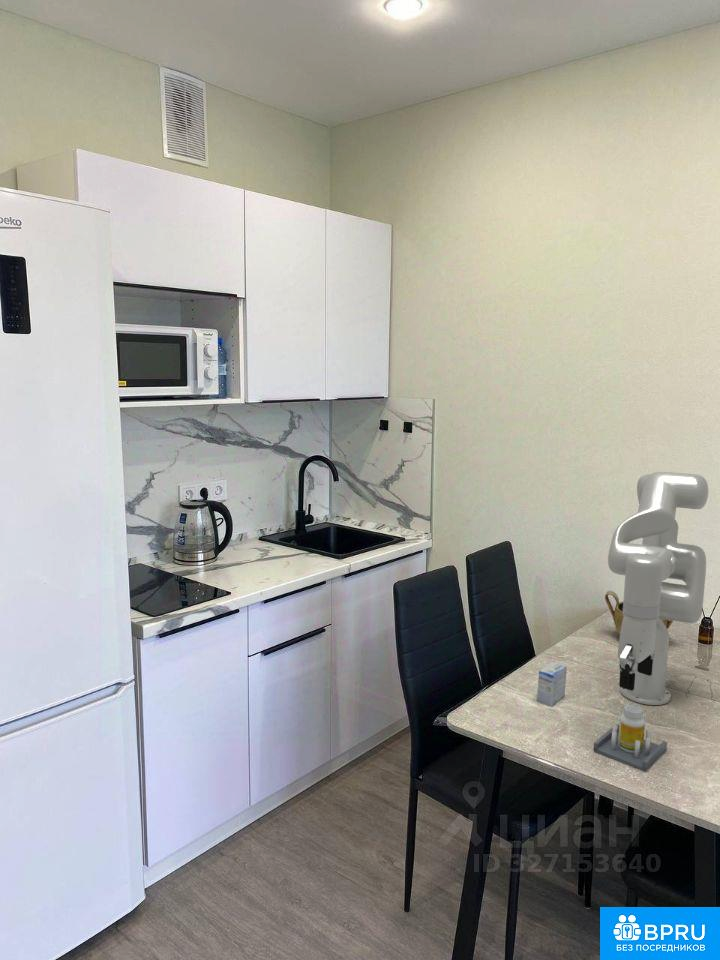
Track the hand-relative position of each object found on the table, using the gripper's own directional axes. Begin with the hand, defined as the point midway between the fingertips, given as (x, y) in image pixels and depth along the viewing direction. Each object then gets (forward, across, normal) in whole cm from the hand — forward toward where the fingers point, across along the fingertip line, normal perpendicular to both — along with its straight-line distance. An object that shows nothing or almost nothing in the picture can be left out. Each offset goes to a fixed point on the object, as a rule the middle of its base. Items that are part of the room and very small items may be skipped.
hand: (635, 680), depth 163 cm
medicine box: (+18, -10, -26) cm, 33 cm away
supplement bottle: (+16, +1, 0) cm, 16 cm away
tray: (+17, +1, 0) cm, 17 cm away
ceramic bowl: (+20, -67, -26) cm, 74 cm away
